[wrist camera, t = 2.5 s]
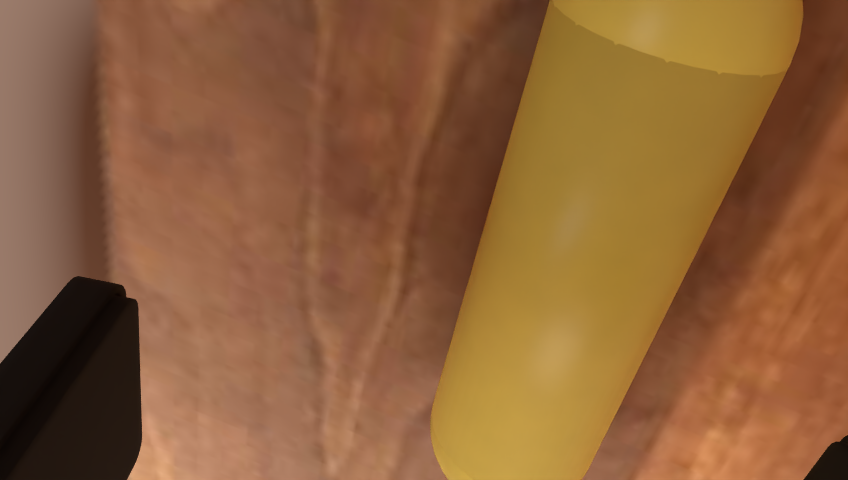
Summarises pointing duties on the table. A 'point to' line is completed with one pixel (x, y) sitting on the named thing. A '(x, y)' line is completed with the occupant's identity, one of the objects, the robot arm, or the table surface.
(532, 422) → the yellow gas cartridge
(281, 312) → the table surface
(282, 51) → the table surface
